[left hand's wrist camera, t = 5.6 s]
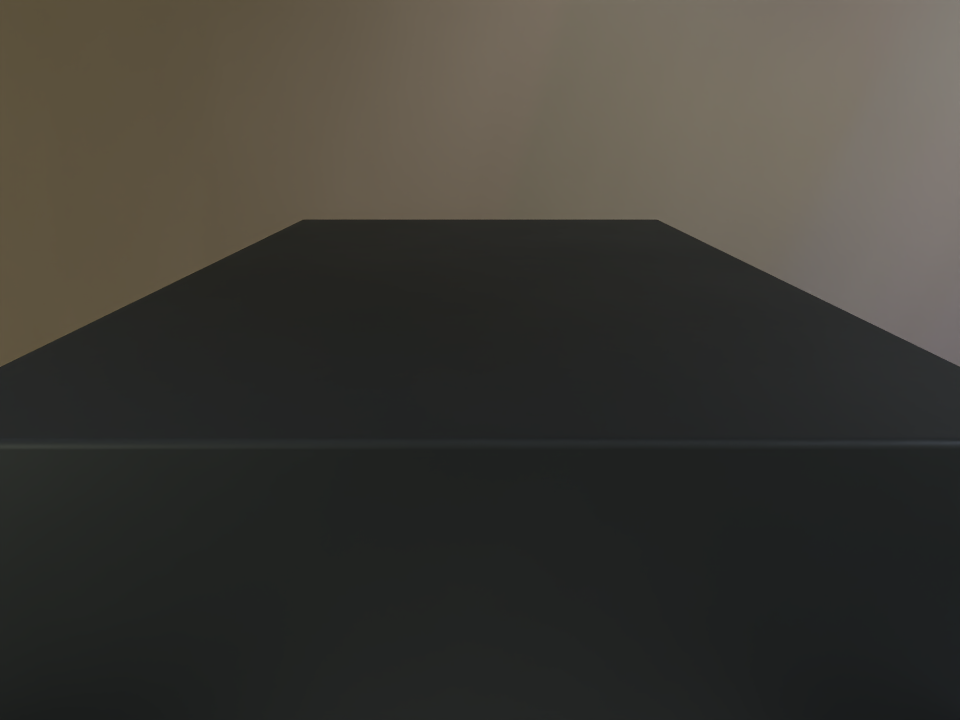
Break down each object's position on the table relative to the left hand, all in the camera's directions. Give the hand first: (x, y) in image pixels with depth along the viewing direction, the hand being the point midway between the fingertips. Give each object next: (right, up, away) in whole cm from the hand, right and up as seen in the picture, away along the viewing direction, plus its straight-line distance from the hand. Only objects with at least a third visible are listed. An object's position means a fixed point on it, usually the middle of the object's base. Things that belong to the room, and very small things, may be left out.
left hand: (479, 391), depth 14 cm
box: (0, -9, +5) cm, 10 cm away
